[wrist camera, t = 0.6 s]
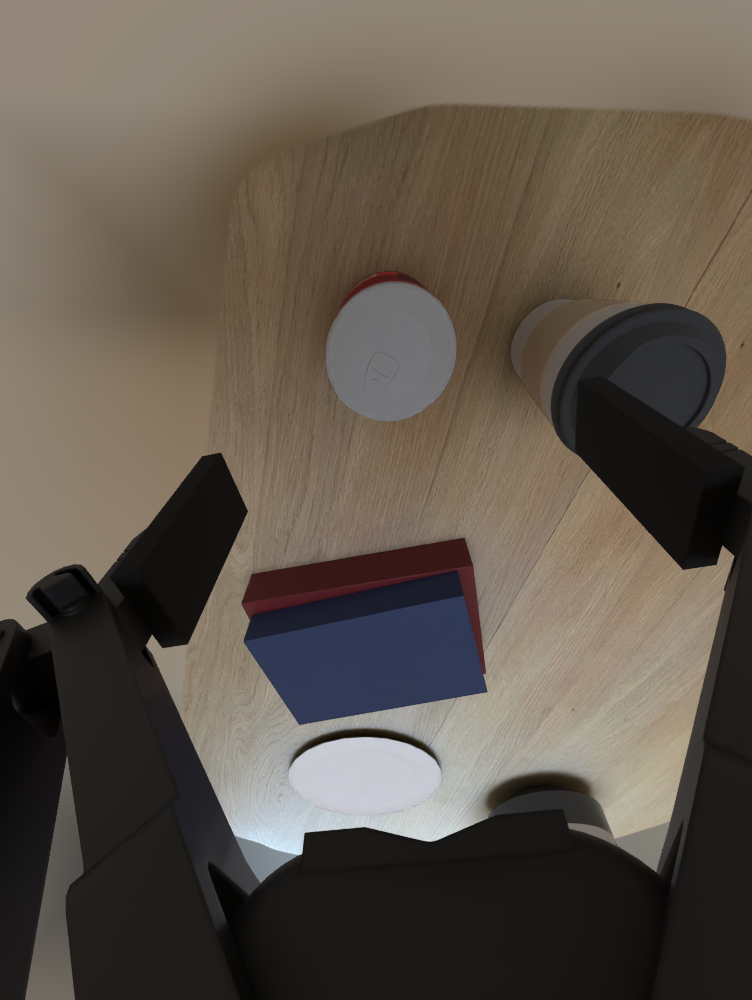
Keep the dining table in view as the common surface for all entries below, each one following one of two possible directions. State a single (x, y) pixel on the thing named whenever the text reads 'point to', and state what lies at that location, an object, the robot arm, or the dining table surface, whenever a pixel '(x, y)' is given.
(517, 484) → the dining table surface
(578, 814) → the planter
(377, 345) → the canned food
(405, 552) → the book stack
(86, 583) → the robot arm
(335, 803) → the plate
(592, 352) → the coffee cup
